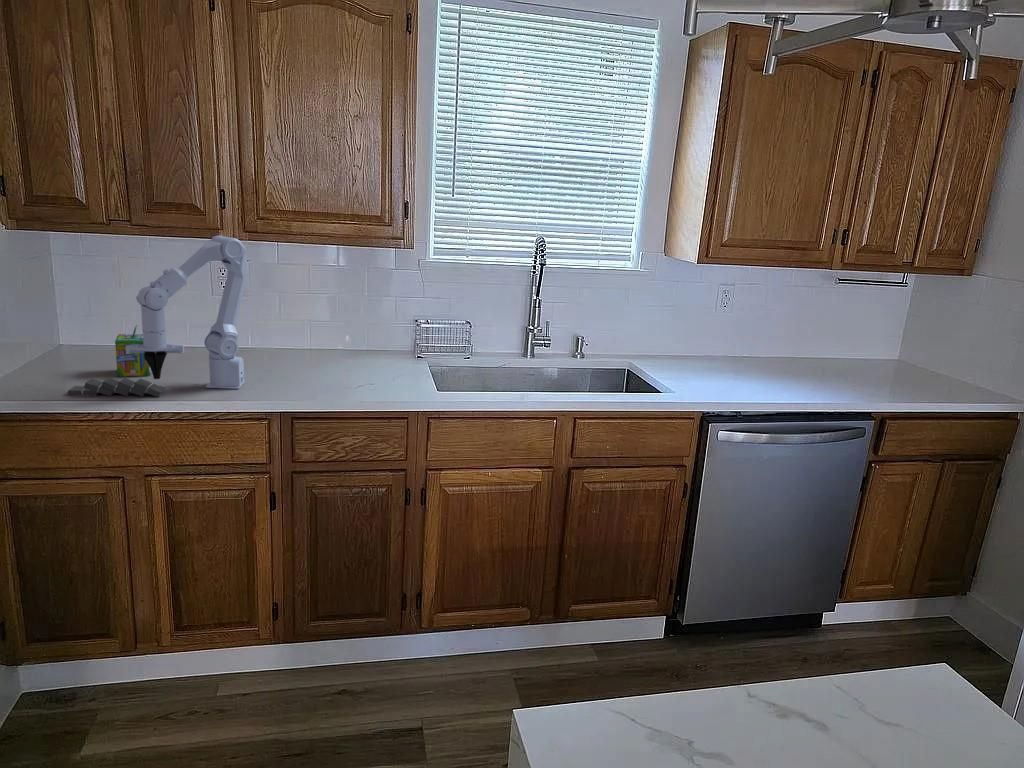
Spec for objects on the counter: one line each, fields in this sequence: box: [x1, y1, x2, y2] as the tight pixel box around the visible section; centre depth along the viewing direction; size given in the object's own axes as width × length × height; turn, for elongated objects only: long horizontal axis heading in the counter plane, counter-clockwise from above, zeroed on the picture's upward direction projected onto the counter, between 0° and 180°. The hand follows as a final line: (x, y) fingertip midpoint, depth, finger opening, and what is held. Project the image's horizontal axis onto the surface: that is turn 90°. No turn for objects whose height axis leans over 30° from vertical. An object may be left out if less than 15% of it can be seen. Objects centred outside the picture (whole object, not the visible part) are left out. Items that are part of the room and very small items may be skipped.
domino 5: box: [133, 378, 166, 398], centre depth 203 cm, size 2×4×7 cm
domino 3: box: [101, 377, 132, 397], centre depth 202 cm, size 2×4×7 cm
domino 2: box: [83, 378, 116, 397], centre depth 201 cm, size 2×4×7 cm
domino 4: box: [117, 377, 148, 398], centre depth 203 cm, size 2×4×7 cm
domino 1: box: [67, 385, 99, 396], centre depth 201 cm, size 2×4×7 cm
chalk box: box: [114, 325, 152, 377], centre depth 223 cm, size 9×9×15 cm
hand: (157, 378), depth 203 cm, fingers closed
